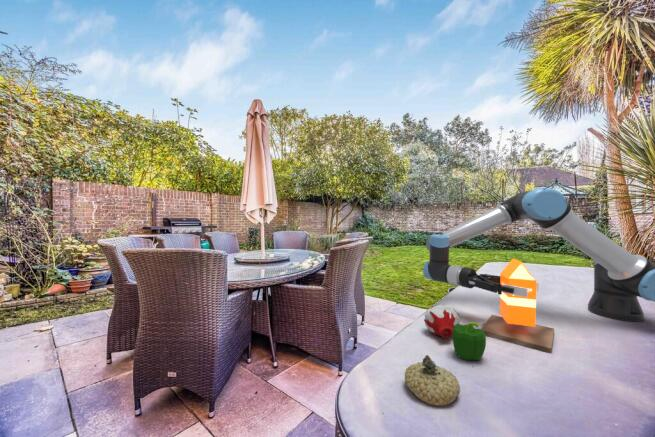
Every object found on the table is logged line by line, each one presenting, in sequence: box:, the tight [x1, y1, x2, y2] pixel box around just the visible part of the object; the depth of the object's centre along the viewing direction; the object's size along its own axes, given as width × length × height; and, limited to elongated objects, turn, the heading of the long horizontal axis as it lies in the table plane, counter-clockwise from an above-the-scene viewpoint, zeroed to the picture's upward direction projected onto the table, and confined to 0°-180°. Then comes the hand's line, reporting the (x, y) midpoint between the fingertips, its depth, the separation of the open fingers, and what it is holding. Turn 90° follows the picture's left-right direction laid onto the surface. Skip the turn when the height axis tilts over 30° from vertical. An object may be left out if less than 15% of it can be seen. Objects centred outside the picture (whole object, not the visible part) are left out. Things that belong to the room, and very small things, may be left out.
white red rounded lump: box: [423, 304, 461, 339], centre depth 86 cm, size 9×11×15 cm
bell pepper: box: [451, 321, 487, 361], centre depth 73 cm, size 8×8×10 cm
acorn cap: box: [404, 354, 461, 407], centre depth 59 cm, size 10×11×10 cm
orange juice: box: [499, 258, 538, 327], centre depth 87 cm, size 8×9×20 cm
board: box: [480, 314, 555, 354], centre depth 87 cm, size 18×18×2 cm
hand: (532, 290), depth 84 cm, fingers closed on orange juice, 10 cm apart
